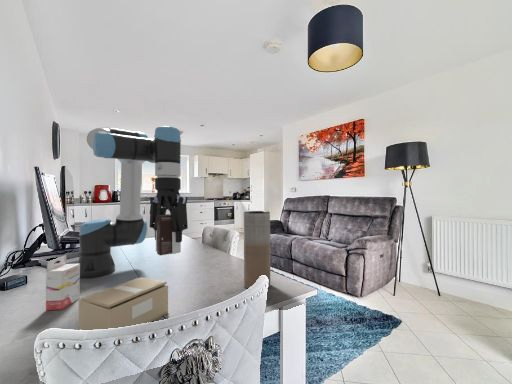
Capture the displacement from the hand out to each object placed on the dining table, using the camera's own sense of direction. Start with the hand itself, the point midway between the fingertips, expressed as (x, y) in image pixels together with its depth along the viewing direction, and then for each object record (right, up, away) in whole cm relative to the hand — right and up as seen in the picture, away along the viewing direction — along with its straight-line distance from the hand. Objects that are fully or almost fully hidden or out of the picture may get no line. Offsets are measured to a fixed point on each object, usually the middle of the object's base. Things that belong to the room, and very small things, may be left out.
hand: (168, 251), depth 76 cm
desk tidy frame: (-69, -18, +51) cm, 88 cm away
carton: (-8, -17, -9) cm, 21 cm away
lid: (-8, -9, -9) cm, 15 cm away
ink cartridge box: (-34, -17, +2) cm, 38 cm away
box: (0, -1, 0) cm, 1 cm away
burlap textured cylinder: (+28, -17, +16) cm, 36 cm away
